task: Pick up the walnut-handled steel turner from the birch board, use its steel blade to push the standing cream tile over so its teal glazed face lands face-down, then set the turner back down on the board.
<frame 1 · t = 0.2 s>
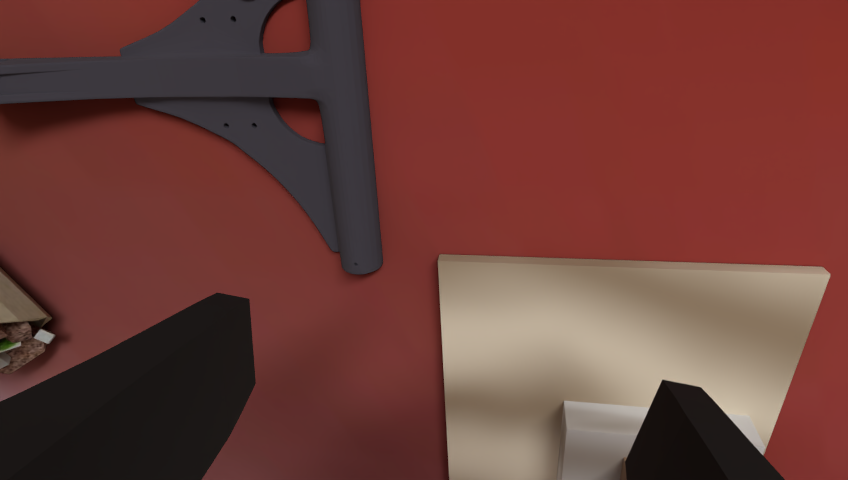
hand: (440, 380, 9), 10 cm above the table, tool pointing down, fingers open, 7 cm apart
bracket: (177, 67, 18), on the table
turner: (644, 450, 21), resting on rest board
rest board: (596, 420, 22), on the table
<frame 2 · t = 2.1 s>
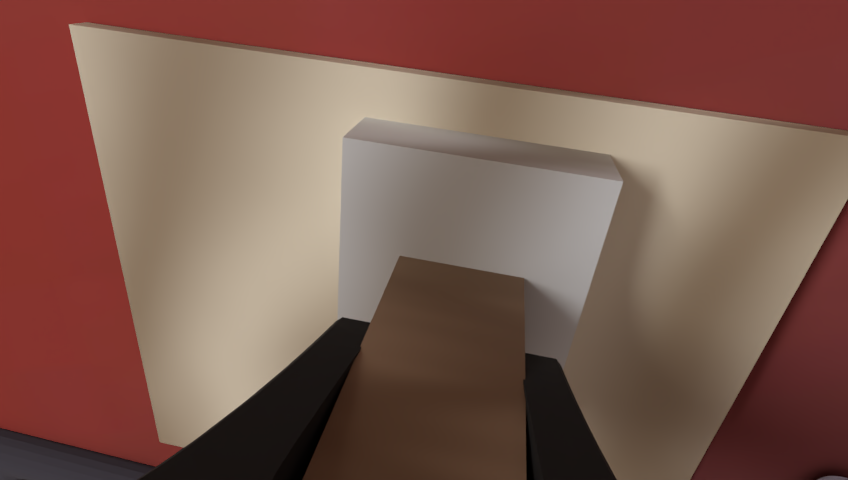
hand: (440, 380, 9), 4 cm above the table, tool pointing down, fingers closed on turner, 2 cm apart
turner: (460, 279, 12), resting on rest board, touching gripper
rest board: (414, 325, 13), on the table
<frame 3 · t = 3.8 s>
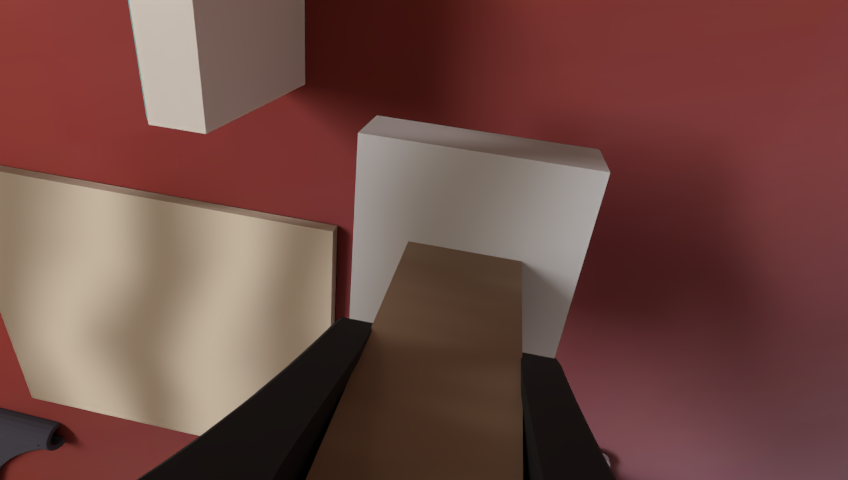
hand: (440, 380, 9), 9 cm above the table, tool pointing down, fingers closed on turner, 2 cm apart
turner: (463, 265, 13), point 5 cm above the table, touching gripper
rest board: (163, 322, 23), on the table
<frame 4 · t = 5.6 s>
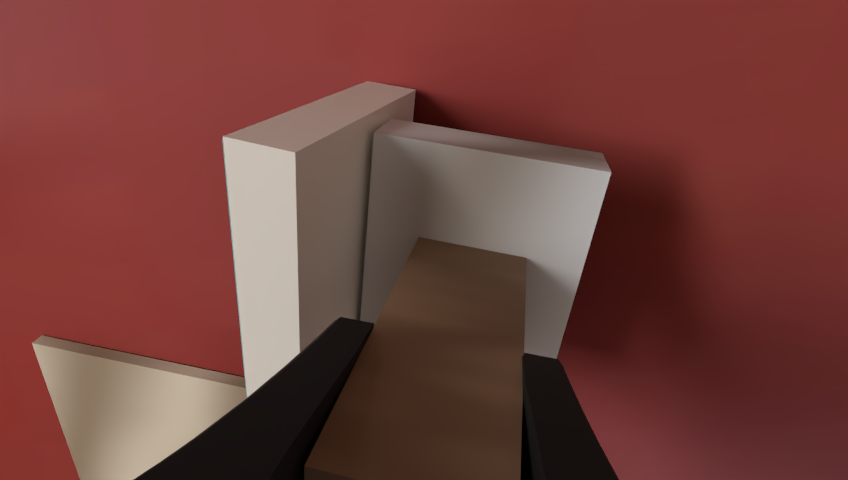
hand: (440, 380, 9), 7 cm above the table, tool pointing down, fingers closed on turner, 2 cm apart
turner: (470, 264, 13), point 2 cm above the table, touching gripper, tile
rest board: (237, 478, 23), on the table
tile: (381, 203, 15), on the table, tilted 9°, touching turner
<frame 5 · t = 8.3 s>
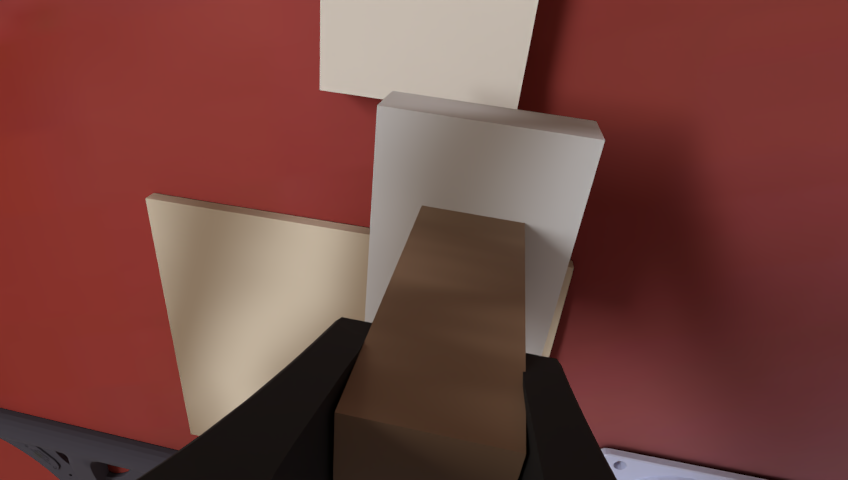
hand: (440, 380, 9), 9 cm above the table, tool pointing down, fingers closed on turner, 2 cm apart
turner: (470, 230, 14), point 3 cm above the table, touching gripper
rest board: (350, 358, 22), on the table
when the fingers open (5 cm above the table, at t = 10.1 s): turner stays where it is, resting on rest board.
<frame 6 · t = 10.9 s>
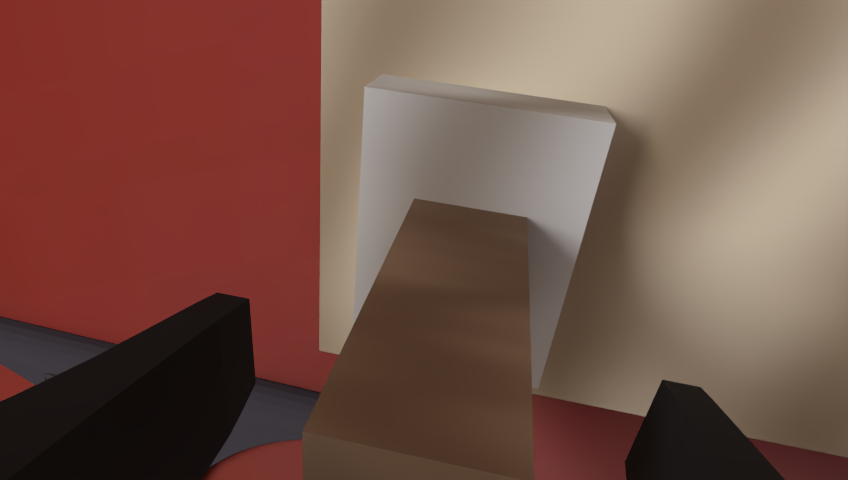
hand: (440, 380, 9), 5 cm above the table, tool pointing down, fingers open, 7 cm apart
bracket: (175, 463, 22), on the table
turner: (467, 228, 13), resting on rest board
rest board: (642, 197, 12), on the table
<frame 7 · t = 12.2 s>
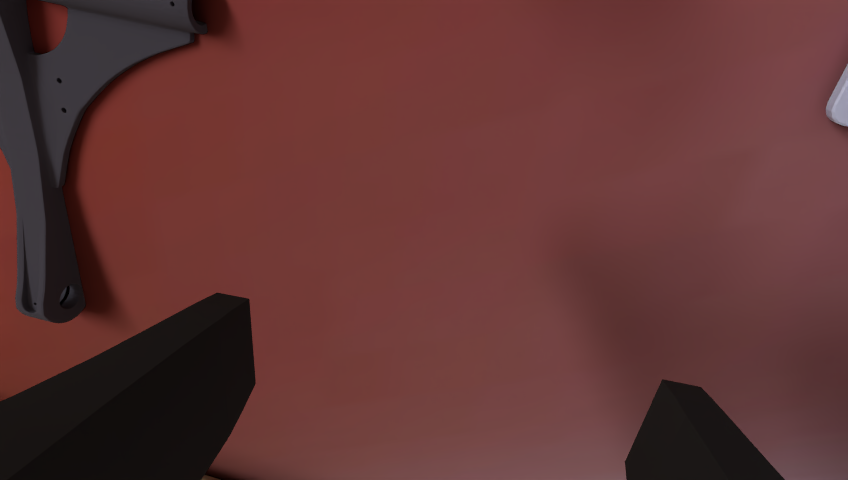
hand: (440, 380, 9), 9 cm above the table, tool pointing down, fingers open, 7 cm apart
bracket: (55, 146, 20), on the table
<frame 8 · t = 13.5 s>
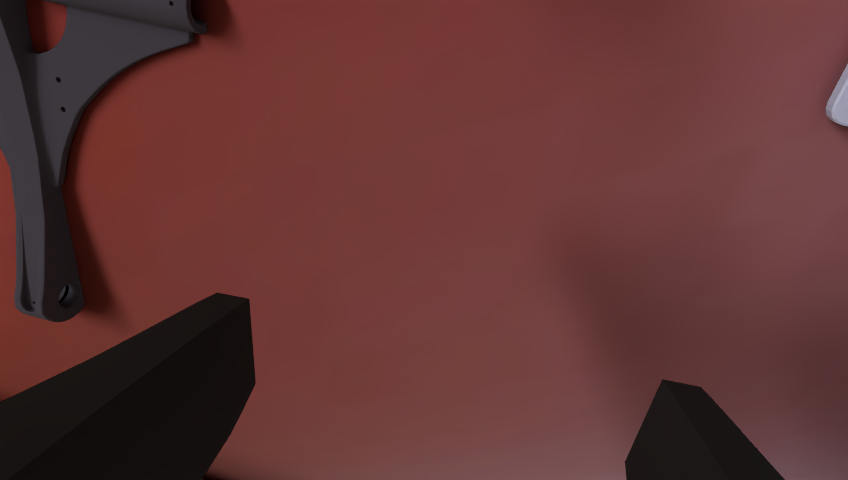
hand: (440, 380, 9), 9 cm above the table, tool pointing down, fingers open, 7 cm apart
bracket: (54, 145, 20), on the table
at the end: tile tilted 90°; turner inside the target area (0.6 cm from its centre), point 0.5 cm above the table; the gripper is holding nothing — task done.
